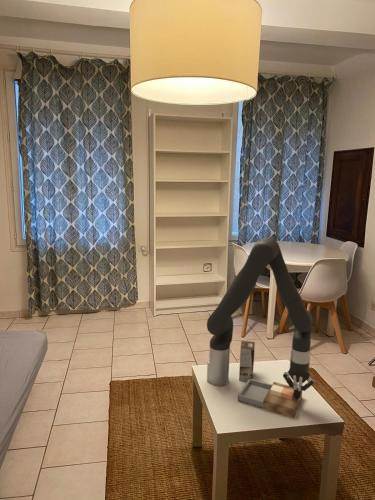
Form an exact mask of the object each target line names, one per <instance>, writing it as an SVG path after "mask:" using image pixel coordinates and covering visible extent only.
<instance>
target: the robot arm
mask: <svg viewBox="0 0 375 500" xmlns="http://www.w3.org/2000/svg"><path fill="white" fill-rule="evenodd" d="M268 265H269V267H270V269H271V271H272V274H273V277H274V281H275V285H276V289H277V292H278V295H279V297H280V299H281V300H282V302H283V305H284V306H285V307H286V310H287V313H288V315H289V319H290V321H291V323H292V325H293V337H292V343H291V351H290V358H289V359H290V360H289V361H290V362H289V369H288V371H285V372H284V373H283V374H282V377H283V379H284V380H285V382H286V383H287V385H288V386H290V387H292V388H293V389H294V394H293V395H294V396H295V398H297V399H299V398H300V396H301V391H302V392H303V391H304V392H305V391H306V390H308V389H309V388H310V387H312V386H313V385H314V383H315V379H314V378H312V377H311V375H310V362H311V335H312V334H311V333H312V327H313V319H314V318H313V315H312V313H311V312H310V311H309V310H307V309H306V308H305V306H304V303H303V301H304V300H303V298H302V297H301V295H300V293H299V290H298V288H297V287H296V285H295V282H294V281H293V278H292V277H291V276H292V275H291V274H290V273H289V269H288V267H287V264H286V262H285V259H284V256H283V253H282V249H281V247H280V244H279V243H278V241H277V240H276V239H275V238H274V237H269V236H268V237H267V236H266V237H263V238H261V239H259V241H257V242H256V243H255V244H254V245H253V247H252V248H251V251H250V252H249V255H248V257H247V259H246V261H245V263H244V264H243V267H241V269H240V271H239V272H238V273H237V275H236V276H235V277H234V279H233V280H232V282H231V284H230V285H229V287H228V289H227V290H226V292H225V294H224V295H223V296H222V299H221V300H220V302H219V304H218V305H217V307H216V308H215V309H214V310H213V312H212V313H211V314H210V315H209V317H208V318H207V321H206V328H207V331H208V333H210V334H211V335H212V337H211V338H210V341H209V353H208V354H209V357H208V358H209V359H208V361H207V362H206V363H207V365H206V366H207V370H206V372H207V373H206V374H207V375H206V381H207V382H209V383H210V384H211V385H213V386H219V387H222V386H225V385H227V384H229V379H230V377H229V373H230V353H231V343H232V340H233V334H234V319H233V317H232V316H233V315H234V314H235V313H236V312H237V311H238V310H239V309H241V307H243V306H244V304H245V303H246V302H247V301H248V300H249V298H250V297H251V295H252V293H253V292H254V290H255V288H256V286H257V282H258V279H259V277H260V275H261V274H262V272H263V271H264V270H265V268H267V266H268ZM305 382H306V383H305ZM304 383H305V384H304ZM303 384H304V385H303Z"/></svg>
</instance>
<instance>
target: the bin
mask: <svg viewBox="0 0 375 500" xmlns="http://www.w3.org/2000/svg"><path fill="white" fill-rule="evenodd" d="M272 384H273V383H272ZM272 384H271V383H267V382H263V381H260V380H256V379H253V378H252V379H250V378H249V380H248V381H246V383H245V384H244V386H243V387H242V389H241V390H240V391H239V392H238V395H237V402H239V403H243V404H245V405H249V406H253V407H255V408H259V409H261V410H264V409H263V400H264V398H265V397H266V395H267V393H268V391H269V390H270V388H271V386H272Z"/></svg>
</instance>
